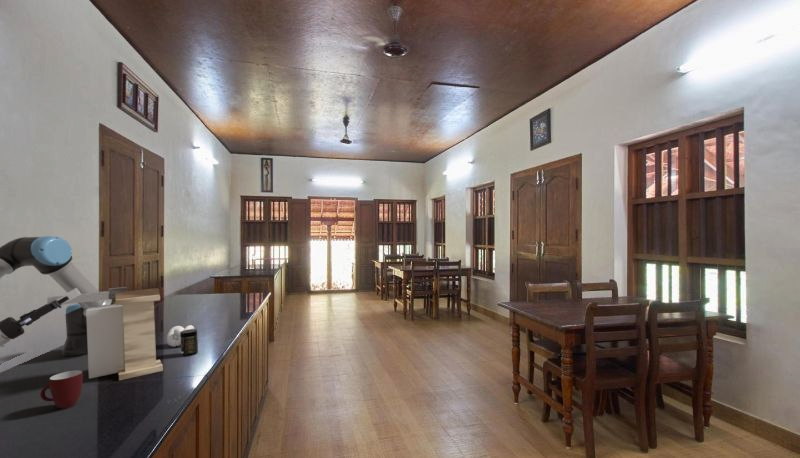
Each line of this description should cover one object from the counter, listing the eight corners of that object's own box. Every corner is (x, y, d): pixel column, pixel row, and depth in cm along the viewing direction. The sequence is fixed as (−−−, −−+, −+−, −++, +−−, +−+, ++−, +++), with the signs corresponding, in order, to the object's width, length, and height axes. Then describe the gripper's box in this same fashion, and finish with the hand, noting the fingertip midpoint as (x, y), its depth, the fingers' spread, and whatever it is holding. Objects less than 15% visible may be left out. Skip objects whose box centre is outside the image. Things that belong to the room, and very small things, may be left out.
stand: (118, 373, 150) (115, 292, 150) (159, 364, 159) (156, 287, 159) (119, 380, 142) (115, 295, 142) (162, 370, 151) (159, 290, 151)
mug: (35, 416, 115) (34, 383, 115) (45, 406, 122) (43, 375, 122) (80, 407, 120) (78, 376, 120) (86, 398, 127) (85, 368, 127)
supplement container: (201, 353, 172) (200, 330, 172) (186, 357, 166) (185, 333, 166) (193, 351, 176) (192, 328, 176) (178, 355, 170) (177, 332, 170)
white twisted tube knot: (200, 344, 186) (199, 325, 186) (172, 350, 178) (171, 331, 178) (191, 340, 194) (191, 322, 194) (165, 346, 185) (164, 327, 185)
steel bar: (48, 305, 143) (48, 294, 143) (126, 296, 158) (126, 286, 158) (47, 306, 140) (47, 295, 141) (127, 297, 155) (126, 287, 155)
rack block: (89, 372, 152) (86, 307, 152) (123, 365, 158) (121, 303, 158) (88, 378, 145) (86, 310, 145) (124, 371, 152) (121, 306, 152)
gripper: (16, 335, 142) (85, 296, 155) (7, 344, 129) (84, 301, 142) (1, 319, 140) (72, 281, 152) (-9, 327, 127) (70, 285, 140)
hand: (78, 291), depth 147 cm, fingers closed on steel bar, 3 cm apart
